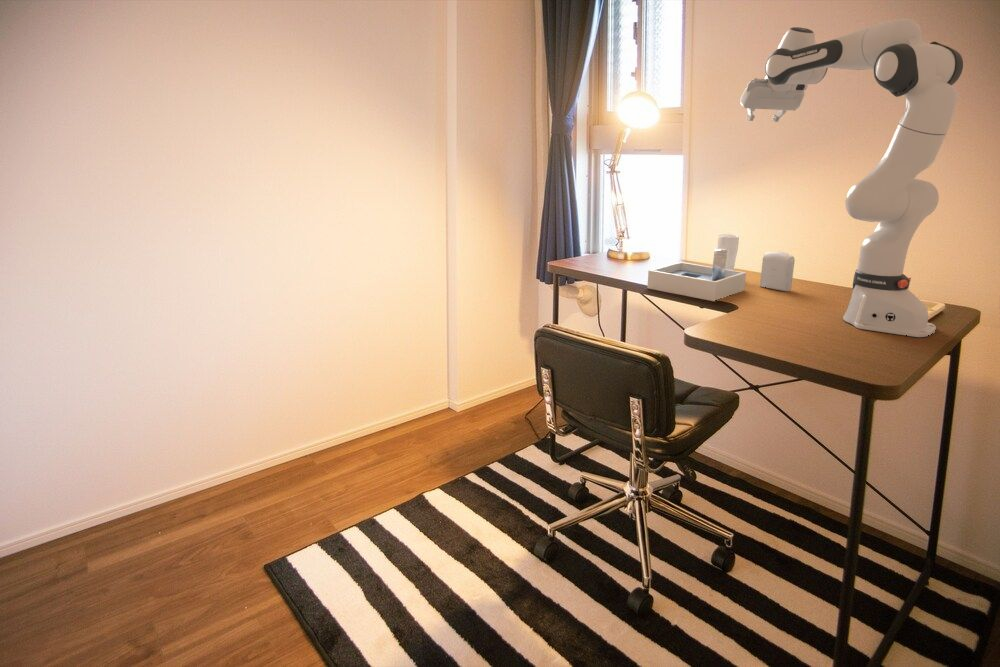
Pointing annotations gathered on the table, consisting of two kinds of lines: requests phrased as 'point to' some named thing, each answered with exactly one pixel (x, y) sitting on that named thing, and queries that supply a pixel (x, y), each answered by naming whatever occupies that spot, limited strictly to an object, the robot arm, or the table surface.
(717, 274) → the peg
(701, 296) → the box
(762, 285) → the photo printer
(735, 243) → the drinking glass
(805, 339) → the table surface
